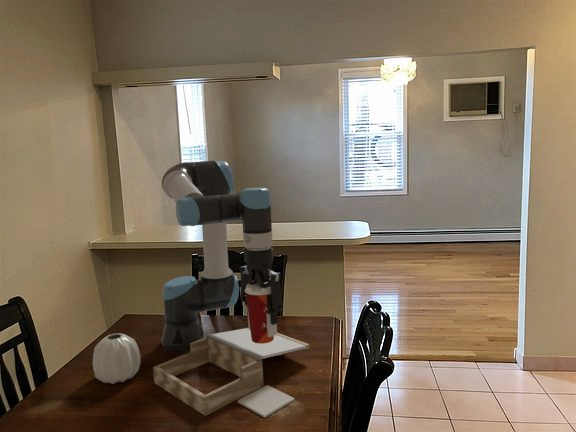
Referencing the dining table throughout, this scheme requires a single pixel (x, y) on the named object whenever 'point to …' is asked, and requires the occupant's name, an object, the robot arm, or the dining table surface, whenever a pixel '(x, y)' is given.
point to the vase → (116, 358)
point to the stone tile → (266, 401)
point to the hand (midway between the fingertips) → (262, 331)
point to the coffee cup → (258, 312)
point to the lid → (245, 345)
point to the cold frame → (219, 356)
